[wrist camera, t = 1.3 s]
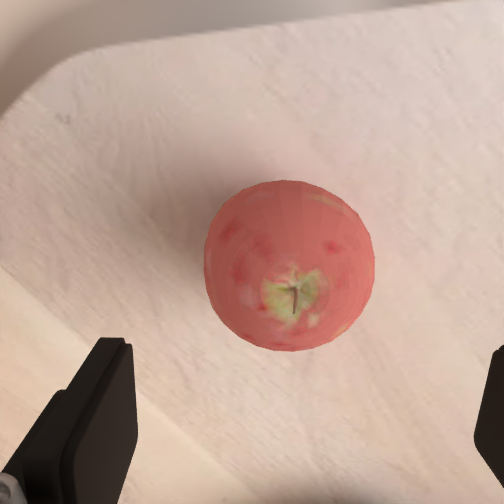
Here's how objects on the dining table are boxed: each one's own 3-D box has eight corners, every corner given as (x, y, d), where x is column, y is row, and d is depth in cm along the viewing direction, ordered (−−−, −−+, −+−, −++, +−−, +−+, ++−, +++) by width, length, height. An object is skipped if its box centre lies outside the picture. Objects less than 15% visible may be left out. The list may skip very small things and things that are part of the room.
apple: (340, 304, 24) (383, 395, 16) (210, 297, 24) (192, 387, 16) (358, 172, 21) (420, 207, 14) (214, 163, 21) (196, 194, 14)
